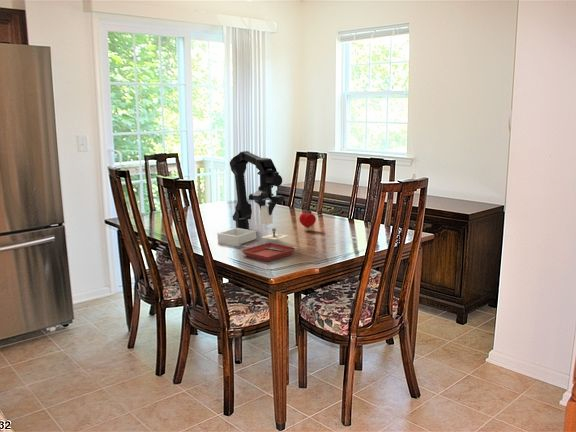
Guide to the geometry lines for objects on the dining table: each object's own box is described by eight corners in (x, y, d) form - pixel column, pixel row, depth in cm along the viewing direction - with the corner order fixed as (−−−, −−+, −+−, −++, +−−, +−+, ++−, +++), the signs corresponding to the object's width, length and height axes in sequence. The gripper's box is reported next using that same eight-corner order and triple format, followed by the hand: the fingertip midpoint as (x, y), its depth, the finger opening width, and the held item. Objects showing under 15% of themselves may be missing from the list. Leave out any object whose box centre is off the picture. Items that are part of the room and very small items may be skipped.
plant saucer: (240, 256, 258) (240, 249, 257) (269, 248, 270) (269, 241, 269) (267, 264, 245) (267, 256, 244) (296, 255, 257) (296, 248, 257)
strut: (261, 223, 285) (261, 206, 283) (266, 222, 288) (265, 204, 286) (267, 224, 283) (267, 207, 281) (272, 223, 286) (272, 205, 284)
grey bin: (217, 242, 282) (217, 233, 281) (236, 237, 292) (235, 227, 291) (238, 246, 274) (237, 236, 273) (256, 240, 284) (255, 230, 283)
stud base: (260, 239, 287) (260, 229, 286) (272, 235, 294) (272, 225, 293) (276, 241, 281) (275, 231, 280) (287, 237, 289) (287, 227, 288)
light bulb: (318, 231, 300) (318, 212, 298) (312, 234, 294) (312, 215, 292) (303, 229, 304) (302, 211, 302) (296, 232, 299) (296, 214, 296)
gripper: (241, 185, 280) (242, 215, 283) (270, 187, 269) (271, 219, 273) (255, 181, 289) (256, 211, 292) (284, 184, 278) (285, 215, 281)
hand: (266, 214), depth 284 cm, fingers closed on strut, 4 cm apart
